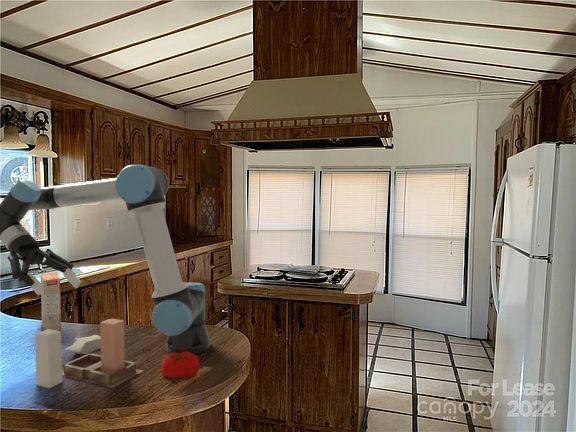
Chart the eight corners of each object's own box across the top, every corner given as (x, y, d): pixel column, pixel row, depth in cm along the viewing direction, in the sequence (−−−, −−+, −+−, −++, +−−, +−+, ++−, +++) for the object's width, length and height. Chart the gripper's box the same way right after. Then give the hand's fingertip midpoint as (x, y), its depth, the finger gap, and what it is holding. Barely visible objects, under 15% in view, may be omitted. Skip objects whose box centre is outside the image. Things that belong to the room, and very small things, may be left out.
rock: (46, 357, 140) (76, 361, 133) (46, 343, 140) (76, 346, 133) (101, 341, 159) (129, 344, 152) (100, 329, 159) (129, 331, 152)
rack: (55, 378, 123) (55, 365, 123) (89, 363, 134) (89, 351, 134) (112, 393, 114) (112, 379, 114) (143, 375, 125) (143, 362, 125)
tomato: (160, 372, 128) (160, 351, 127) (196, 367, 132) (196, 347, 131) (162, 386, 119) (162, 364, 118) (201, 380, 123) (201, 358, 122)
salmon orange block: (111, 371, 125) (110, 318, 124) (124, 373, 123) (124, 320, 122) (101, 376, 121) (100, 322, 120) (114, 379, 119) (113, 324, 118)
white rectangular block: (49, 383, 120) (48, 329, 119) (62, 387, 118) (60, 331, 117) (36, 390, 116) (35, 333, 115) (49, 393, 114) (47, 336, 113)
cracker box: (62, 331, 164) (60, 278, 163) (44, 334, 160) (42, 280, 159) (58, 321, 175) (56, 272, 174) (41, 324, 172) (39, 274, 171)
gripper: (47, 249, 144) (85, 291, 139) (-26, 254, 120) (16, 305, 115) (58, 232, 143) (97, 274, 137) (-14, 234, 119) (30, 284, 114)
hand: (60, 288), depth 126 cm, fingers open, 13 cm apart
